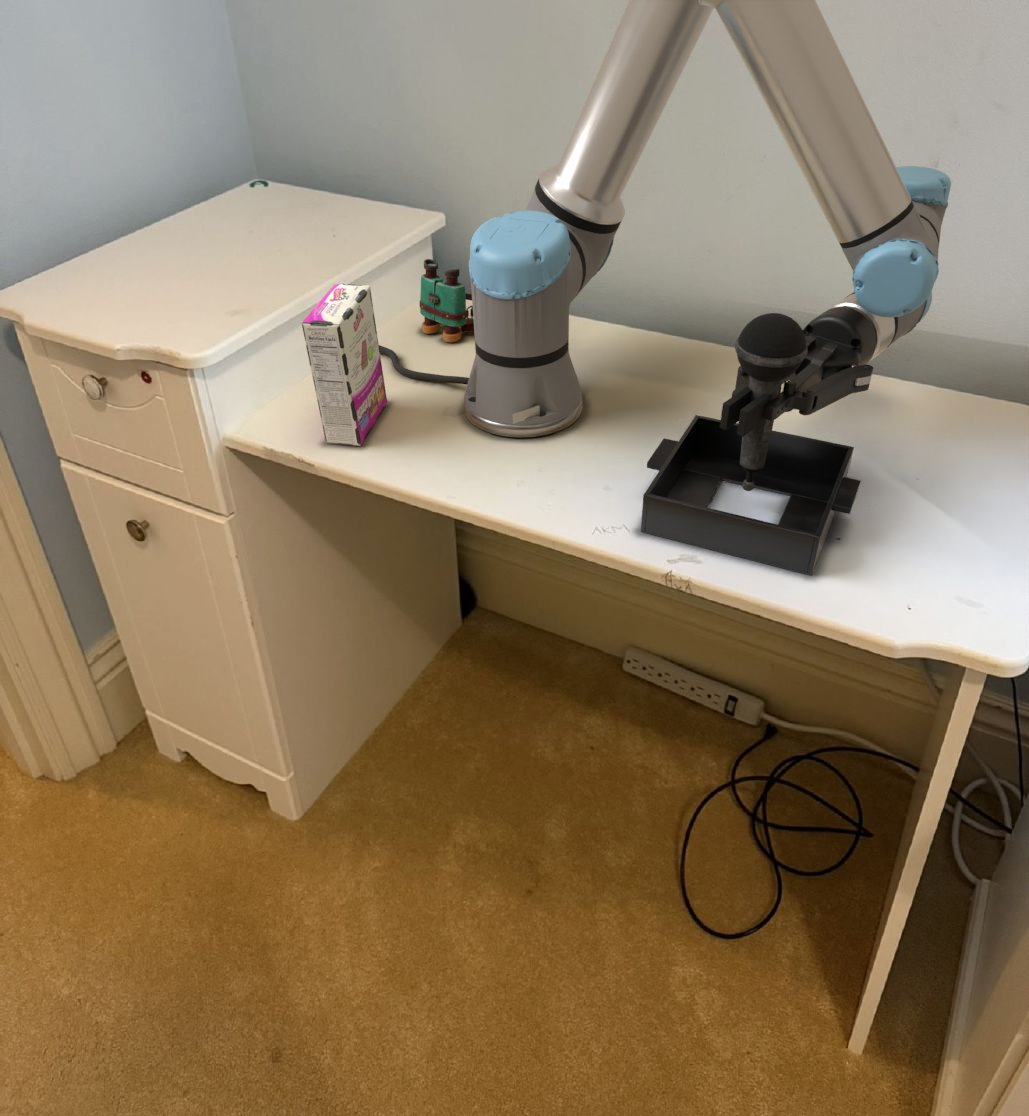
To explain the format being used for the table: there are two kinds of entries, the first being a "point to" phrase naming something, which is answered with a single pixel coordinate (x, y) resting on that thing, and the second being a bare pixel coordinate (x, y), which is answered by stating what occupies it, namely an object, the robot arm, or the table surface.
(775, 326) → the microphone
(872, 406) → the table surface
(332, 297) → the candy bar box
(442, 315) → the binoculars
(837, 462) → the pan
